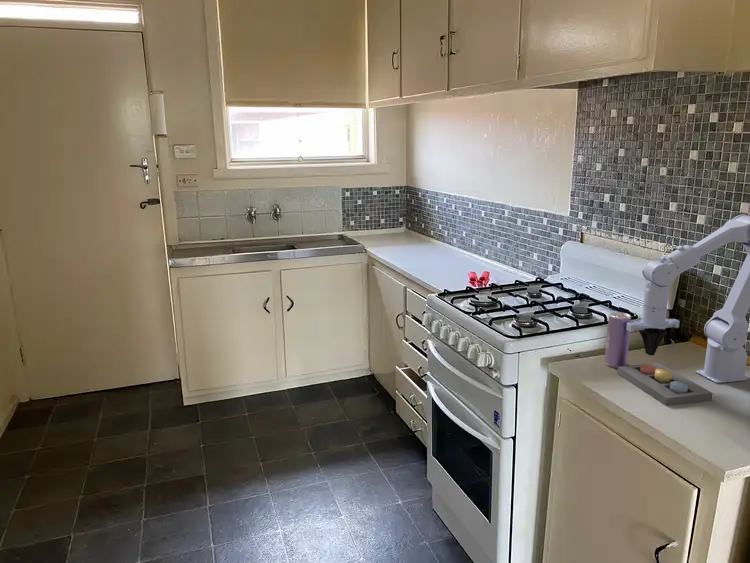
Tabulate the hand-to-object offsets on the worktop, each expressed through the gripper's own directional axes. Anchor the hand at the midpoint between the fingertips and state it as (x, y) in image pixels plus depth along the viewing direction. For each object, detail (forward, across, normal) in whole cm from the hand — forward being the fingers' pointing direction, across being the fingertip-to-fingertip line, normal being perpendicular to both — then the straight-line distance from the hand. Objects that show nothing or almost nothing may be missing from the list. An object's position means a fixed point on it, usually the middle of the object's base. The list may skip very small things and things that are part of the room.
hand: (649, 354), depth 155 cm
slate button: (+6, 0, -12) cm, 13 cm away
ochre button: (+5, 0, -6) cm, 8 cm away
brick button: (+6, 0, 0) cm, 6 cm away
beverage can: (+7, -3, +10) cm, 13 cm away
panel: (+7, 0, -6) cm, 9 cm away
